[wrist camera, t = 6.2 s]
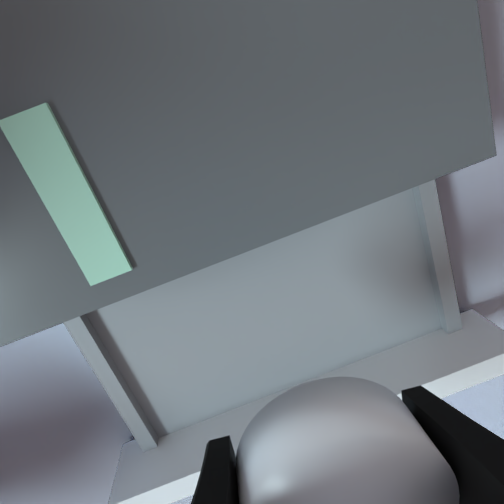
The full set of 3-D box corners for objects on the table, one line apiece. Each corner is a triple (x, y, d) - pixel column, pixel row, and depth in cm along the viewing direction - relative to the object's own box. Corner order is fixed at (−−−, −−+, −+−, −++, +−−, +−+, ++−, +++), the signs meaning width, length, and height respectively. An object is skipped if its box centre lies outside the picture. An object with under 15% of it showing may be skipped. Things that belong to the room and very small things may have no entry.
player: (432, 148, 18) (500, 155, 14) (43, 298, 18) (-3, 349, 14) (348, -310, 13) (418, -516, 9) (-205, -99, 13) (-398, -206, 9)
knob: (420, 495, 12) (461, 566, 10) (255, 541, 11) (266, 622, 10) (409, 355, 10) (457, 409, 8) (216, 405, 10) (219, 472, 8)
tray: (475, 326, 22) (528, 365, 18) (132, 459, 22) (119, 523, 18) (422, 20, 16) (483, -9, 13) (-36, 196, 16) (-101, 216, 13)
